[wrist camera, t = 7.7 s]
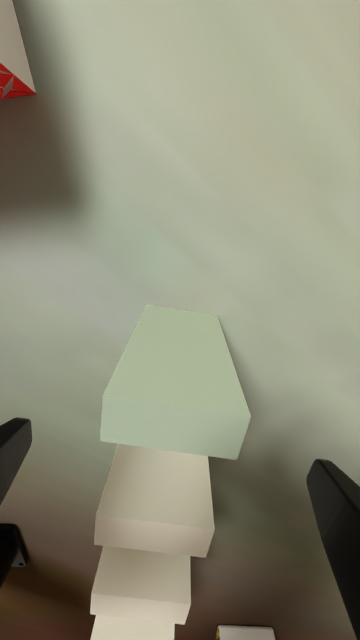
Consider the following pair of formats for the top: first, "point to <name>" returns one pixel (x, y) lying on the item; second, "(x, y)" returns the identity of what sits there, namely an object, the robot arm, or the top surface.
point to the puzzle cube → (13, 56)
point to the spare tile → (176, 388)
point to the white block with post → (244, 633)
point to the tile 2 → (130, 629)
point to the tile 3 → (142, 585)
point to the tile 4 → (156, 502)
